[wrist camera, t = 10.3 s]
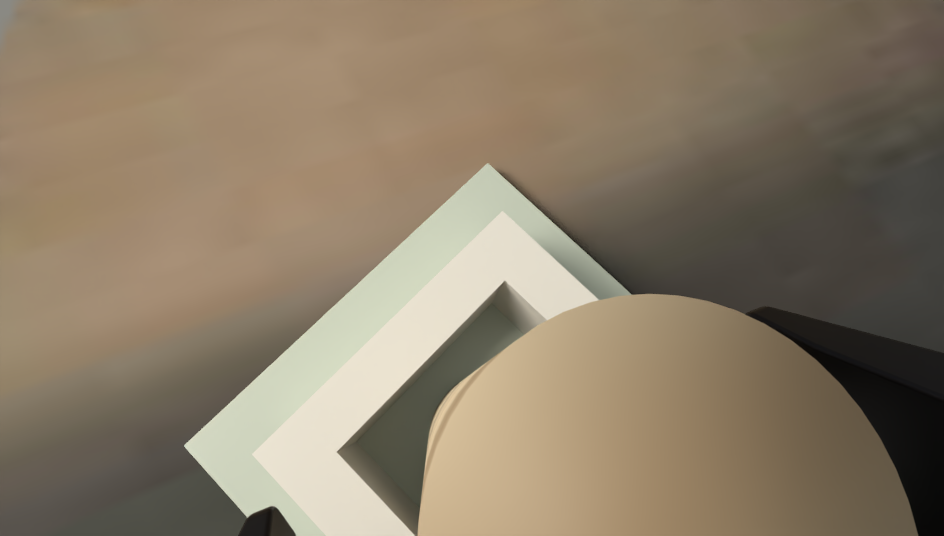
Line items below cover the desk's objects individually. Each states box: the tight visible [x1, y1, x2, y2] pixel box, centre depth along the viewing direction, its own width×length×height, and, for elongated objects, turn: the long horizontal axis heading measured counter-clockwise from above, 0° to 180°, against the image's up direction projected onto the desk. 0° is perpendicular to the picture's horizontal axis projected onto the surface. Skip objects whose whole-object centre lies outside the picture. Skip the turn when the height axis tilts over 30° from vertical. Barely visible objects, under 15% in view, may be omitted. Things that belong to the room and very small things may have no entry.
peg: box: [418, 294, 918, 536], centre depth 11 cm, size 4×4×13 cm
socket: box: [184, 163, 632, 536], centre depth 15 cm, size 14×14×4 cm
